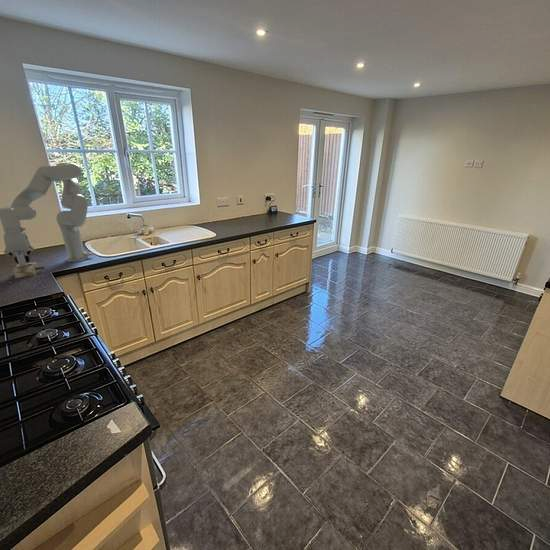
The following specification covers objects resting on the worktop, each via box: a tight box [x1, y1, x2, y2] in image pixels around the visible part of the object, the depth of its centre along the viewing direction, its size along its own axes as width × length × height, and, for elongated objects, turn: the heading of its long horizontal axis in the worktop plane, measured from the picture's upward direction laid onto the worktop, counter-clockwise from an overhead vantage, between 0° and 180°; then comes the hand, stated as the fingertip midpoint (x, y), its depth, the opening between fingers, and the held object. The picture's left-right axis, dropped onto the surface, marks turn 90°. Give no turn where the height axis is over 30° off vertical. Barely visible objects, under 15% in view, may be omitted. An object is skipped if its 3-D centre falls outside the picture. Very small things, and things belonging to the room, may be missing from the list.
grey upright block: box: [15, 251, 29, 268], centre depth 168 cm, size 3×6×9 cm, turn 27°
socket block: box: [12, 262, 46, 279], centre depth 171 cm, size 13×9×5 cm
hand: (23, 262), depth 169 cm, fingers closed on grey upright block, 3 cm apart
